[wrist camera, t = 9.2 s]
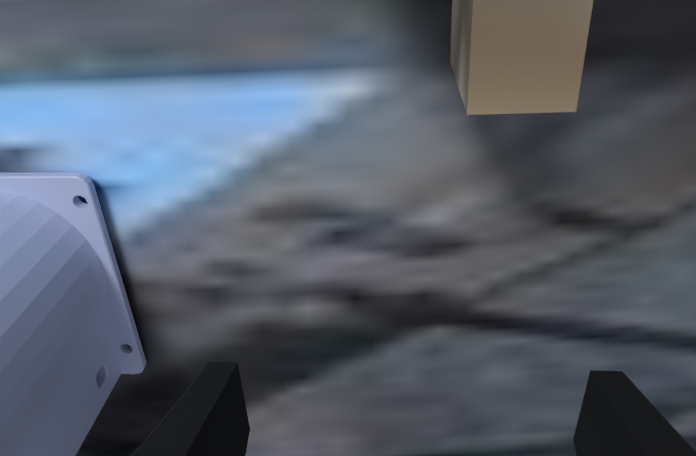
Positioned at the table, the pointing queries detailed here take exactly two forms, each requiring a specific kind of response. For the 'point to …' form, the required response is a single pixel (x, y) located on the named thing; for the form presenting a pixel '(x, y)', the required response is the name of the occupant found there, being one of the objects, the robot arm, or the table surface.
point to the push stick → (519, 54)
